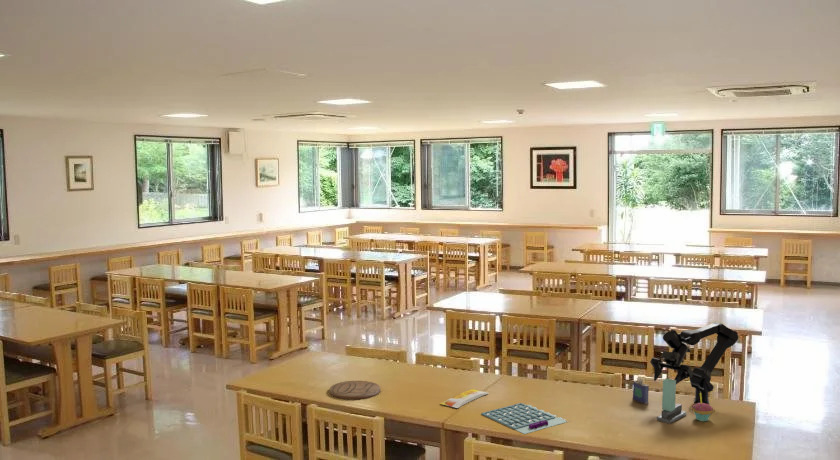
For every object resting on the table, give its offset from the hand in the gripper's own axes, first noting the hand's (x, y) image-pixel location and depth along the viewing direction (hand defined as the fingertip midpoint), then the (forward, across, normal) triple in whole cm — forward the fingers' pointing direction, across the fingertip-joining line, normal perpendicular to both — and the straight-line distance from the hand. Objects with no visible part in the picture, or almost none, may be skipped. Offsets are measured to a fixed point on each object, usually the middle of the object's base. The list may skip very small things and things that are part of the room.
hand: (663, 382), depth 316 cm
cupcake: (+6, +16, +14) cm, 22 cm away
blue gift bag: (+6, -15, +13) cm, 21 cm away
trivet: (+74, -113, -54) cm, 145 cm away
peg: (+11, +6, +2) cm, 13 cm away
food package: (+50, -70, -30) cm, 91 cm away
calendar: (+48, -35, -27) cm, 65 cm away
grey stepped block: (+12, +6, +7) cm, 15 cm away
